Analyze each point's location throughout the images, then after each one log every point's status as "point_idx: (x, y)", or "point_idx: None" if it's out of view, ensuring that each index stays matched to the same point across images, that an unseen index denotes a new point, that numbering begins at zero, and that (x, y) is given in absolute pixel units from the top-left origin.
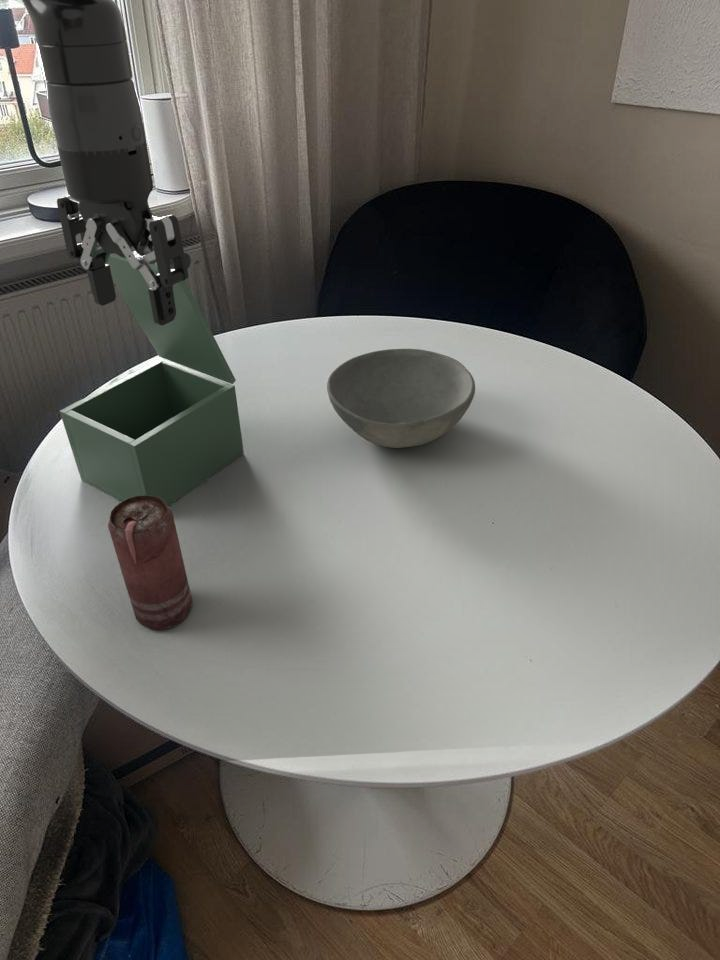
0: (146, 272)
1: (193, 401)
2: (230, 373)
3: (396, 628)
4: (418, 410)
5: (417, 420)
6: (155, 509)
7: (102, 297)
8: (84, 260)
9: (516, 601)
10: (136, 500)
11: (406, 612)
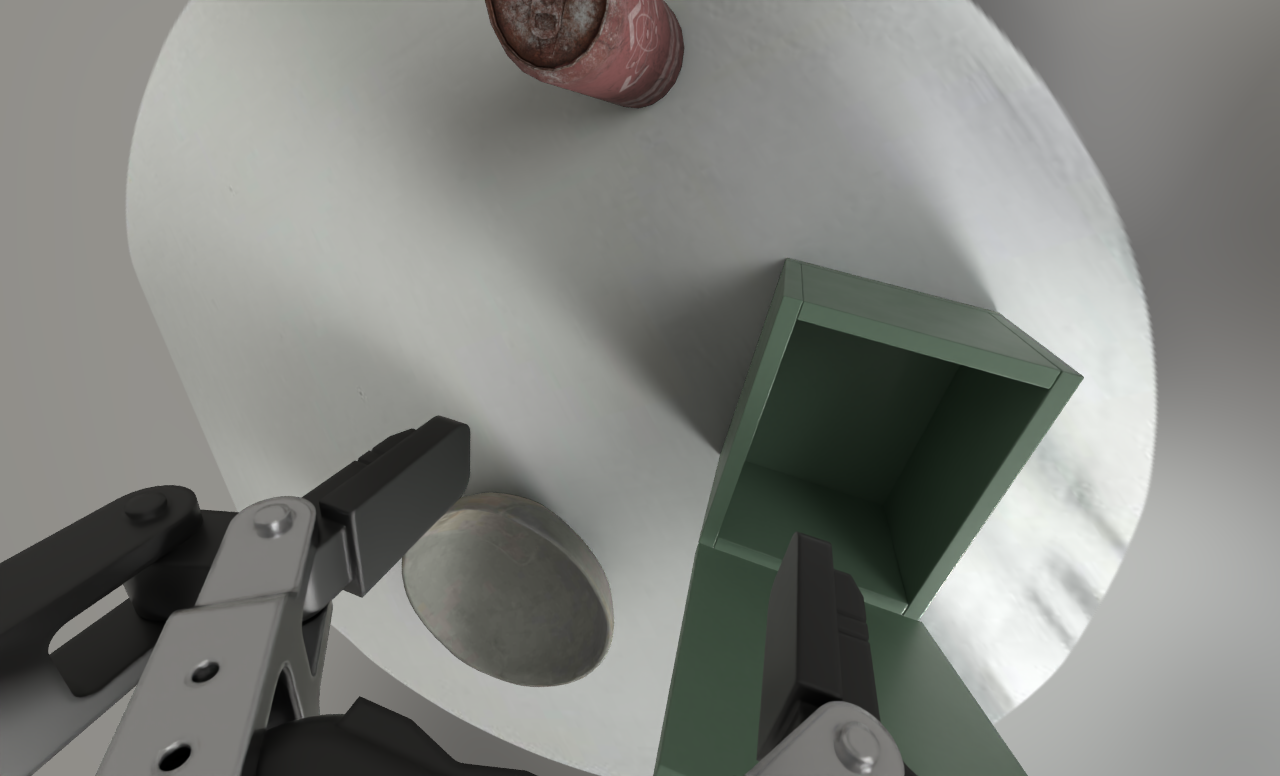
0: (242, 573)
1: (817, 527)
2: (694, 559)
3: (355, 175)
4: (519, 580)
5: (513, 561)
6: (530, 33)
7: (791, 568)
8: (851, 770)
9: (282, 273)
10: (589, 44)
11: (360, 207)
